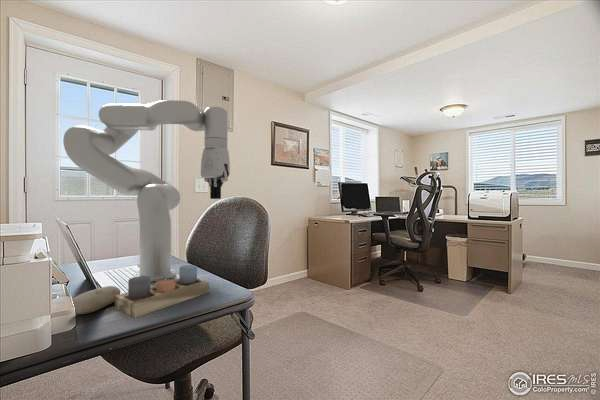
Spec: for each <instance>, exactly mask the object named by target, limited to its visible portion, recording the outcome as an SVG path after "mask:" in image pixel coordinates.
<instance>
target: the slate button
mask: <svg viewBox="0 0 600 400" xmlns="http://www.w3.org/2000/svg"><path fill="white" fill-rule="evenodd" d="M178 272H179V277H178V279H179V282H180V283H184V284H187V283H193V282H196V281H197V279H198V266H197V265H196V264H195V265H194V264H193V265H192V264H191V265H190V264H188V265H181V266H179V271H178Z"/></svg>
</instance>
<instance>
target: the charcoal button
mask: <svg viewBox="0 0 600 400" xmlns="http://www.w3.org/2000/svg"><path fill="white" fill-rule="evenodd" d="M127 284H128V285H127V286H128V290H127V291H128V297H129V298H142V297H146V296H148V295H150V286H151V282H150V277H148V276H139V277H134V276H133V277H131V278H129V279H128V283H127Z"/></svg>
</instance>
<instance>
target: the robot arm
mask: <svg viewBox="0 0 600 400" xmlns="http://www.w3.org/2000/svg"><path fill="white" fill-rule="evenodd" d="M228 116H229V115H228V111H227V110H226V108H223V107H220V106H209V107H208V106H207V107H206V108H205V109H204V110H203V109H201V108H199V107H198V106H197V105H196V104H195V103H193V102H191V101H188V100H182V99H181V100H179V99H176V100H175V99H173V100H172V99H171V100H170V99H169V100H168V99H166V100H165V99H164V100H158V101H155V102H151V103H147V104H146V103H144V104H143V103H107V104H105V105H102V106H101V107H100V109H99V111H98V119H99V120H100V122H101V124H102V125H103V126H104V127H105V128H104V129H103V130H100V129H96V128H94V127H90V126H88V125H87V126H86V125H75V126H71V127H69V128H68V129H67V130H66V131H65V132H64V135H63V139H62V140H63V148H64V150H65V153H66V155H67V156H68V158H69V159H70V160H71V161H72V162H73V163H74V164H75V165H76V167H78V168H79V169H81V170H83V171H84V172H86V173H87V174H89V175H91V176H93V178H96V179H98V180H99V181H101V182H102V183H104V184H105V185H107V186H108V187H110V188H112V189H114V190H115V191H117V192H118V193H120V194H122V195H125V196H137V197H136V204H137V210H138V219H139V220H138V221H139V263H138V264H137V268H139V272H137V273H135V274H134V276H133V278H134V277H139V276H148V277H150V283H152V282H153V281H155V282H158V281H161V280H165V279H166V280H170V279H172V278H173V276H174V277H175V276H176V273H177V272H176V270H174V269H172V266H171V265H172V221H171V214H170V210H174V209H175V208H176V207H178V206H179V204H180V202H181V194H180V192H179V190H178V189H177V188H176V187H175V186H173V185H172V184H170V183H169V182H167V181H165V180H164V179H162V178H160V177H159V176H158V175H156V174H154V173H152V172H150V171H147V170H145V169H142V168H137V167H131V166H128V165H127V164H125V163H123V162H121V161H119V160H118V159H116V158H114V157H113V156H111V155H113V154H114V153H116V152H117V151H119V149H120V148H122V147H123V146H124V145H126V143H127V142H128V141H130V139H131V138H133V137H134V136H135V135H136V134H137V132H138V131H154V130H156V129H157V127H159V126H161V125H183V126H184V127H186V128H187V129H189V130H191V131H193V132H204V137H203V138H204V144H203V145H204V148H203V150H202V154H201V159H200V160H201V161H200V162H201V163H200V176H201V177H202V178H203V179H204V182H207V184H208V186H209V190H210V191H209V193H210V194H209V196H210V197H209V198H210V199H211V200H220V199H221V198H222V187H223V184H224V183H225V182H228V181H229V177H230V173H231V166H230V165H231V164H230V162H231V161H230V153H229V149H228V129H229V128H228V127H229V126H228V122H229V120H228V119H229V117H228ZM169 278H170V279H169ZM153 283H154V282H153Z"/></svg>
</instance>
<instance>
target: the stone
mask: <svg viewBox="0 0 600 400" xmlns="http://www.w3.org/2000/svg"><path fill="white" fill-rule="evenodd" d="M119 294H121V289H120V288H119V287H117V286H114V285H110V286H109V285H108V286H102V287H97V288H95V289H91V290H87V291H84V292H83V293H80V294H78V295H77V296H75V297H73V298H72V299H71V300H72V301H73V304H74V307H75V313H74V314H76V315H84V314H90V313H94V312H96V311H99V310H101V309H103V308H105V307H107V306H109V305H111V304H112V303H115V296H116V295H119Z"/></svg>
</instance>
